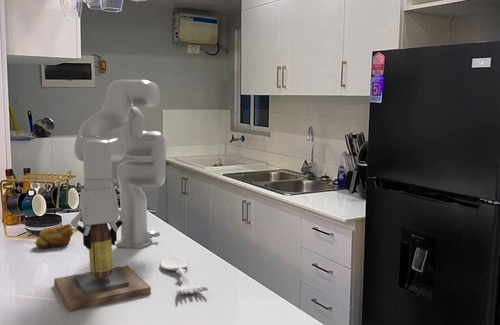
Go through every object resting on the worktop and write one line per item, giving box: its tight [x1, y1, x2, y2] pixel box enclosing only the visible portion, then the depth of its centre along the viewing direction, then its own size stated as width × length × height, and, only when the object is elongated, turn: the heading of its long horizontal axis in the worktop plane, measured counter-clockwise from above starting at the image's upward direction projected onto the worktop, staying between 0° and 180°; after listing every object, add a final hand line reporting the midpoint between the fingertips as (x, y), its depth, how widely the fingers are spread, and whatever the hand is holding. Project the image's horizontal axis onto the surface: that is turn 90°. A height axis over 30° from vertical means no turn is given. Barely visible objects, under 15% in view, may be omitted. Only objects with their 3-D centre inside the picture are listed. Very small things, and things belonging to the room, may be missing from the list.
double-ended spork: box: [159, 254, 209, 296], centre depth 143 cm, size 9×32×4 cm, turn 20°
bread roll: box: [35, 223, 74, 249], centre depth 174 cm, size 13×10×8 cm
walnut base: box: [53, 264, 152, 313], centre depth 135 cm, size 22×20×3 cm
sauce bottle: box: [88, 223, 114, 278], centre depth 133 cm, size 7×6×20 cm
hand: (100, 245), depth 133 cm, fingers closed on sauce bottle, 6 cm apart
